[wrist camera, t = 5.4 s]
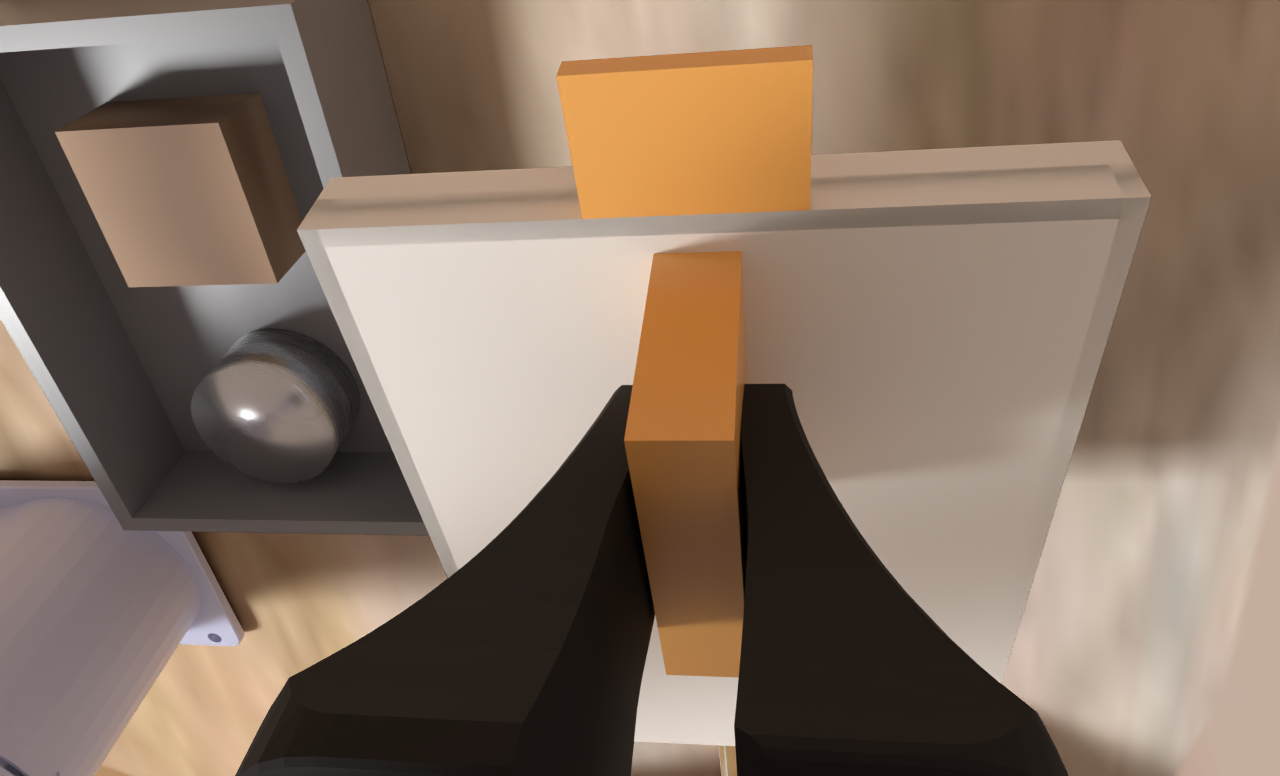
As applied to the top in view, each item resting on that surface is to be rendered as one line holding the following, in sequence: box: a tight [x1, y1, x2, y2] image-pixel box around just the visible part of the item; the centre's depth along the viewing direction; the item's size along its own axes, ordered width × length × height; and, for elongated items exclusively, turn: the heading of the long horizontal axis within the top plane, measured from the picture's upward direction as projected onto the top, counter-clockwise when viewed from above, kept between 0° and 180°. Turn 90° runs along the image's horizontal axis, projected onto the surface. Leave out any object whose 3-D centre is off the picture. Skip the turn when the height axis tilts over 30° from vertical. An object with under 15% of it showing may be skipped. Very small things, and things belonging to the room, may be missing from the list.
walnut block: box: [55, 93, 306, 287], centre depth 22 cm, size 4×4×2 cm
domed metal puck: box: [191, 328, 360, 483], centre depth 26 cm, size 4×4×2 cm
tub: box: [0, 0, 429, 536], centre depth 24 cm, size 10×14×4 cm
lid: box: [297, 45, 1151, 746], centre depth 16 cm, size 11×17×5 cm, turn 6°
